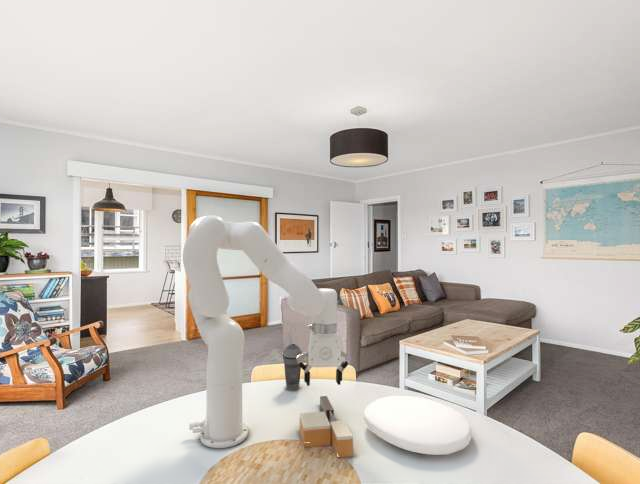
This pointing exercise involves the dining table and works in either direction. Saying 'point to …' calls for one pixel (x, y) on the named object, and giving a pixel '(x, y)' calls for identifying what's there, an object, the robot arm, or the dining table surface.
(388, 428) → the white round disc
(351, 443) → the cake slice
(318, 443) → the cake
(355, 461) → the dining table surface
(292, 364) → the beverage cup
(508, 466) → the dining table surface
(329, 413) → the knife
